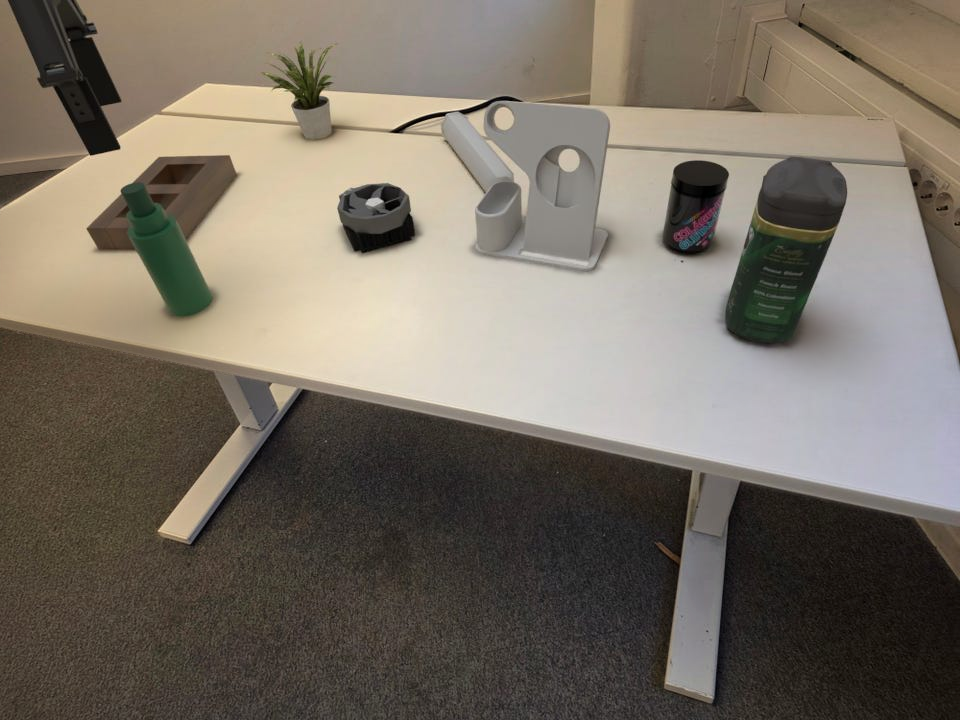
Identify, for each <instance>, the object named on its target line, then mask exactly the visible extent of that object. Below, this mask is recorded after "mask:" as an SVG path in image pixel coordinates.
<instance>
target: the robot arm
mask: <svg viewBox="0 0 960 720" xmlns="http://www.w3.org/2000/svg"><path fill="white" fill-rule="evenodd" d="M7 2H8V4H9V6H10V9H11V12H12V14H13V16H14V18H15V20H16V23H17V25H18V27H19V30H20V32H21V34H22V36H23V39H24V41H25V43H26V46H27V48H28V50H29V52H30V54H31V57H32V59H33V61H34V64H35V66H36V69H37V71H38V73H39V77H36V81H38V84H39V86H40V87H41V88H42V89H48V88H52V87H53V89H54V91H55V93H56V95H57V97H58V99H59V101H60V102H61V105H62V106H63V108H64V110H65V112H66V114H67V116H68V118H69V119H70V122H71V123H72V125H73V126H74V128H75V130H76V132H77V134H78V136H79V138H80V140H81V142H82V144H83V145H84V147H85V148H86V151H87V152H88V154H89V156H90V157H91V156H92V157H93V156H96V155H102V154H106V153H110V152H115V151H120V150H121V147H122V146H121V145H120V143H119V140H118V138H117V136H116V134H115V132H114V131H113V128H112V127H111V124H110V122H109V120H108V118H107V116H106V114H105V112H104V110H103V108H102V107H104V106H109V105H115V104H119V103H122V98H121V96H120V94H119V92H118V89H117V87H116V86H115V83H114V81H113V78H112V77H111V74H110V72H109V70H108V68H107V66H106V64H105V63H104V60H103V58H102V55H101V54H100V51H99V49H98V47H97V45H96V42H95V40H94V38H93V36H94V35H98V33H99V32H98V30H97V27H96V25H95V23H94V22H93V21H92V22H88V18H87V15H86V14H84V12H83V9H82V8H81V7H80V5H79V3H78V1H77V0H7ZM87 36H88V37H87Z"/></svg>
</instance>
